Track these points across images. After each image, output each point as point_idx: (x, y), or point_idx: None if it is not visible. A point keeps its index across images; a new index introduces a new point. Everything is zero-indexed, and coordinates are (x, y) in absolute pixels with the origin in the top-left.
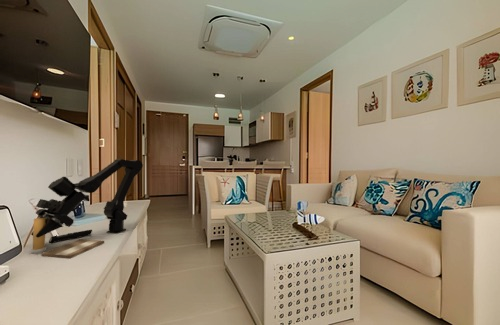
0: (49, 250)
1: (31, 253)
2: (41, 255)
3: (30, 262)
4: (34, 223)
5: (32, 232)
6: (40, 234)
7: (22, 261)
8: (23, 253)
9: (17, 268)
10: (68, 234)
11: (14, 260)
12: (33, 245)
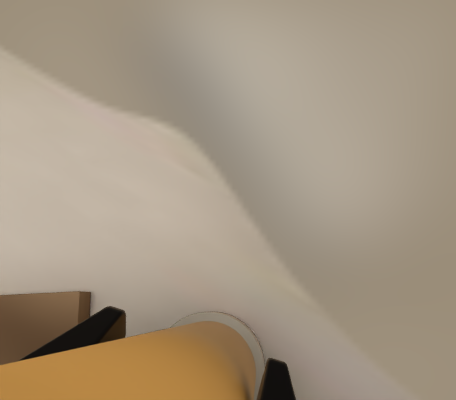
0: None
1: (232, 316)
2: (87, 292)
3: (58, 182)
4: (90, 352)
5: (281, 386)
6: None
7: (133, 180)
8: (310, 303)
9: (51, 98)
10: None
11: (211, 178)
12: (206, 323)
